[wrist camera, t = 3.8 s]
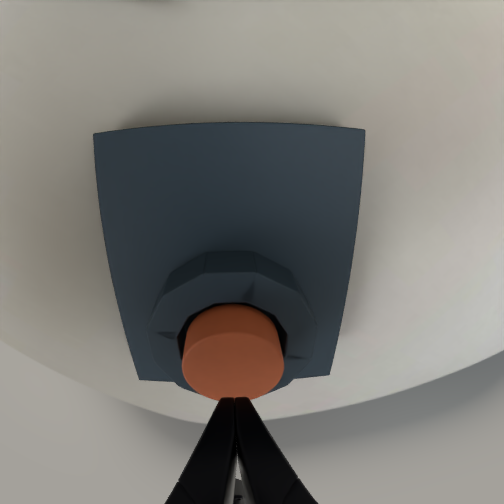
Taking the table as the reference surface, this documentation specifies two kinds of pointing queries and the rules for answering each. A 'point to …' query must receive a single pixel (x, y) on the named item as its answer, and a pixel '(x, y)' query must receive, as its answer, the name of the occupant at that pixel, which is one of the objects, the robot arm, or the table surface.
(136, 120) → the table surface
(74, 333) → the table surface
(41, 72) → the table surface
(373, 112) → the table surface
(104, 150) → the button housing
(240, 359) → the orange button cap
